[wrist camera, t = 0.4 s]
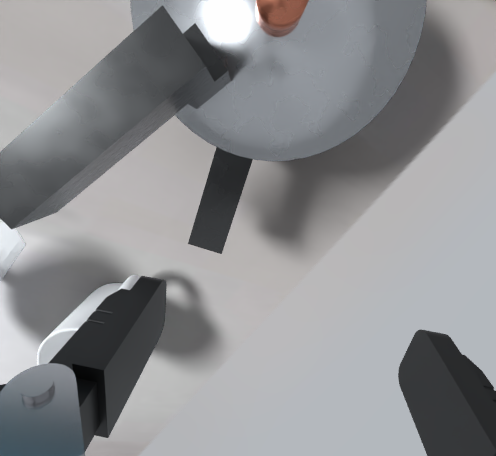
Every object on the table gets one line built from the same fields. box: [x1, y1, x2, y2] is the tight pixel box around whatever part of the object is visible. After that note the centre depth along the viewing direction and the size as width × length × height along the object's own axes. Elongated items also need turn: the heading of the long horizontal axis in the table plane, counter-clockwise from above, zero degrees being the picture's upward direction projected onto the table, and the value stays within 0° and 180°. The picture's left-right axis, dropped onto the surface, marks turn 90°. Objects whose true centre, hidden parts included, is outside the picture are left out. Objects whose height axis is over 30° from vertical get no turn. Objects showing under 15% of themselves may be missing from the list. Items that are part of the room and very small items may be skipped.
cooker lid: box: [0, 0, 427, 229], centre depth 18 cm, size 28×19×9 cm, turn 127°
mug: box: [37, 275, 140, 365], centre depth 35 cm, size 12×8×10 cm
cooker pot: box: [188, 147, 253, 254], centre depth 28 cm, size 27×18×11 cm, turn 161°
